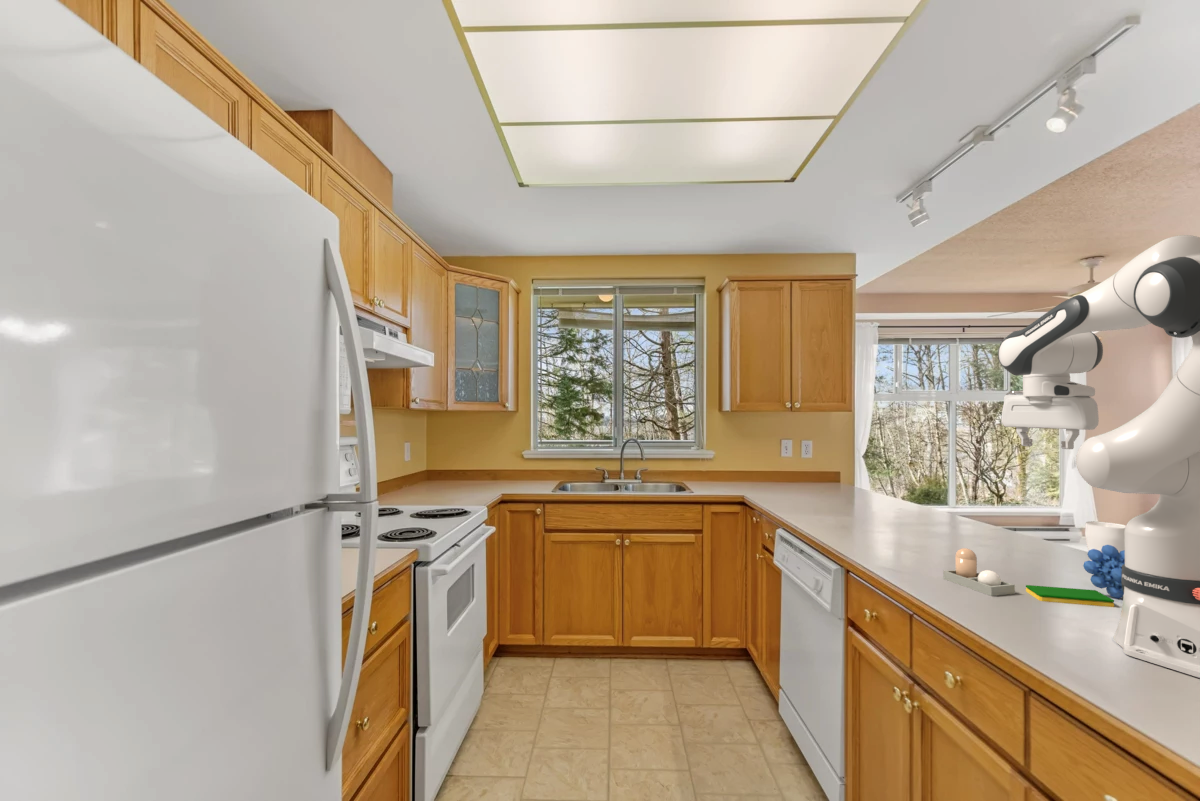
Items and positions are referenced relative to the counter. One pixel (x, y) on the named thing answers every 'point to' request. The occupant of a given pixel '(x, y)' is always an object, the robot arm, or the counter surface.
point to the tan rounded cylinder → (966, 563)
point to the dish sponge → (1069, 595)
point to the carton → (979, 584)
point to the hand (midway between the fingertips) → (1046, 447)
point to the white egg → (989, 578)
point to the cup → (1104, 535)
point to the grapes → (1106, 569)
